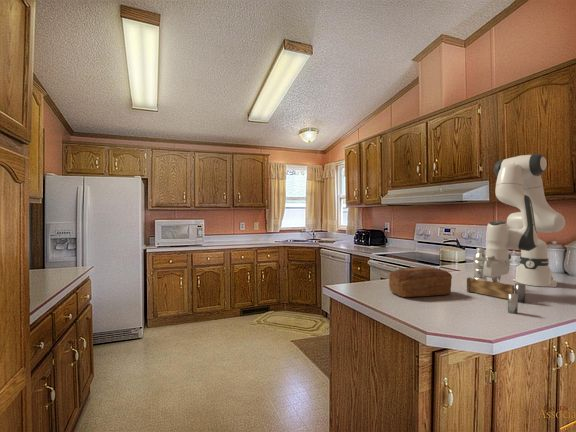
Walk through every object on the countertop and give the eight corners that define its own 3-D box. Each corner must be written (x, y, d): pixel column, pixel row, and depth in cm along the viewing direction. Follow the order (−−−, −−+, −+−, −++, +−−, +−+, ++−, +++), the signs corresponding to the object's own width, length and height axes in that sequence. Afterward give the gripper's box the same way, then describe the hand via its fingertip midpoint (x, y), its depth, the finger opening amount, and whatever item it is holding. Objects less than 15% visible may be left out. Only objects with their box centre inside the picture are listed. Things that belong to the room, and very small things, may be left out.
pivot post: (516, 300, 134) (516, 283, 133) (526, 302, 131) (526, 284, 131) (513, 301, 131) (513, 284, 131) (523, 303, 128) (523, 285, 128)
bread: (456, 296, 140) (457, 269, 140) (402, 300, 133) (402, 272, 133) (435, 289, 153) (435, 264, 153) (385, 292, 147) (385, 266, 147)
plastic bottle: (483, 285, 161) (483, 247, 161) (490, 288, 155) (490, 248, 154) (470, 284, 162) (470, 247, 162) (476, 288, 155) (477, 248, 155)
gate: (514, 299, 134) (514, 284, 134) (512, 300, 132) (512, 285, 132) (469, 290, 149) (469, 277, 149) (466, 291, 147) (466, 278, 147)
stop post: (509, 310, 119) (509, 292, 119) (518, 312, 116) (518, 294, 116) (506, 312, 117) (506, 294, 117) (515, 314, 115) (516, 295, 115)
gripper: (495, 258, 135) (494, 289, 135) (512, 255, 147) (512, 283, 147) (479, 256, 140) (479, 286, 140) (497, 253, 152) (497, 281, 152)
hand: (496, 285), depth 144 cm, fingers closed
